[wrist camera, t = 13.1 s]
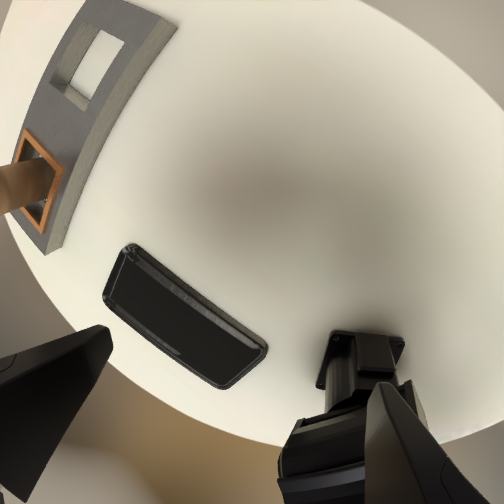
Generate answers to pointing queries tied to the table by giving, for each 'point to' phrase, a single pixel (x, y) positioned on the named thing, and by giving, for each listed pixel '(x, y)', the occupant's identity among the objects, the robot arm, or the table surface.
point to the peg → (24, 183)
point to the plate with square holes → (82, 109)
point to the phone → (180, 320)
